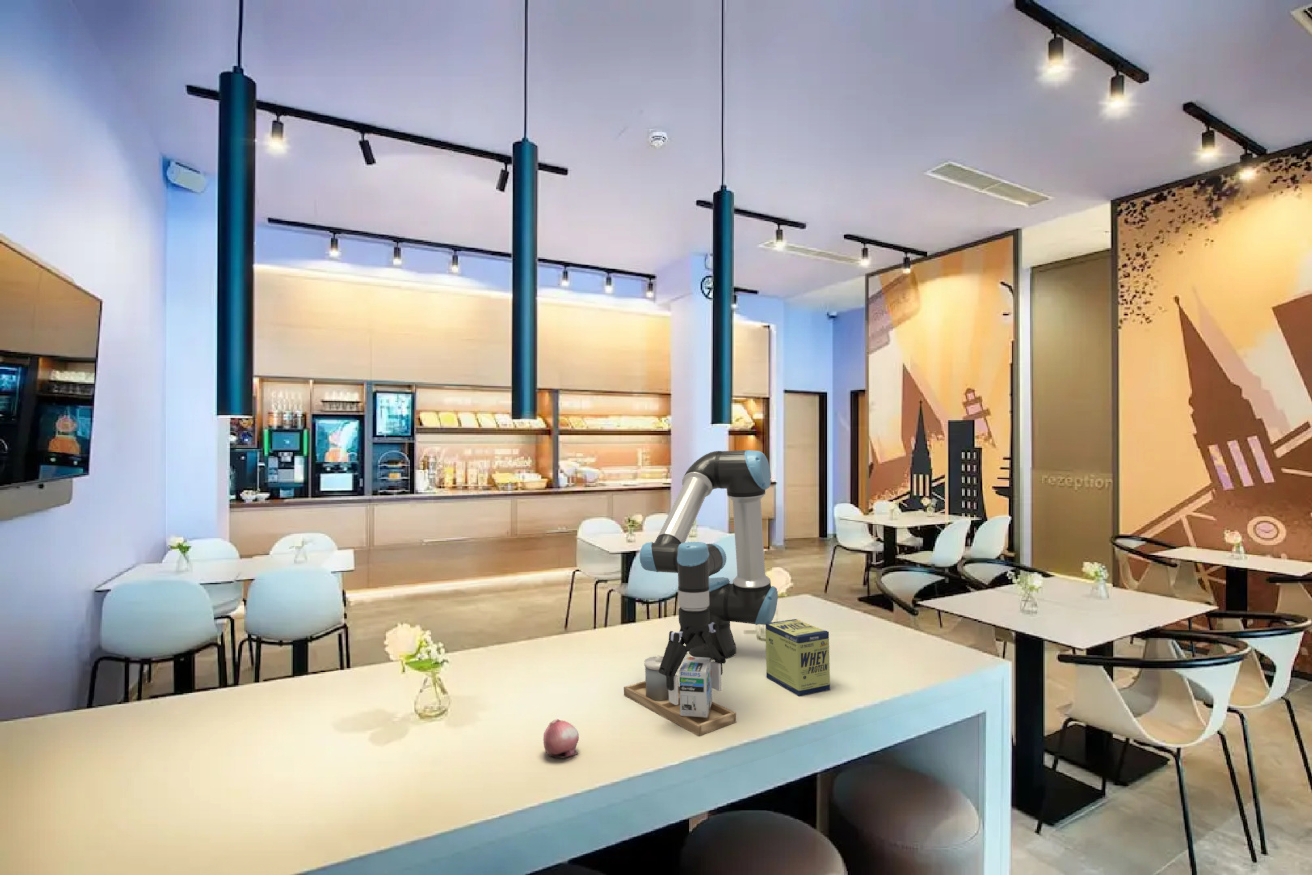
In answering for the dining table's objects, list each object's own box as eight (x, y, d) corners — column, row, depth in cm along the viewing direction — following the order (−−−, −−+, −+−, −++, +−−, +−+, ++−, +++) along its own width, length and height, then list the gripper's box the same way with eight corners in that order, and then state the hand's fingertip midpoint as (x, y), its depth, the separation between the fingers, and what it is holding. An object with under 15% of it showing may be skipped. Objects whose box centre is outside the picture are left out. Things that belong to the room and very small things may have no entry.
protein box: (799, 697, 161) (798, 636, 161) (765, 677, 175) (764, 622, 176) (831, 690, 165) (830, 631, 166) (795, 671, 179) (794, 617, 180)
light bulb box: (707, 718, 144) (707, 671, 144) (679, 716, 145) (678, 670, 145) (712, 700, 154) (712, 656, 154) (686, 698, 155) (685, 655, 156)
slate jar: (661, 688, 166) (661, 649, 167) (679, 696, 160) (678, 656, 161) (639, 695, 162) (638, 655, 162) (656, 703, 156) (655, 662, 156)
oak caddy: (659, 685, 171) (658, 676, 171) (736, 722, 146) (735, 712, 146) (623, 695, 164) (623, 686, 164) (698, 736, 140) (698, 726, 140)
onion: (544, 751, 135) (549, 716, 138) (579, 755, 135) (583, 719, 138) (537, 757, 128) (543, 719, 130) (575, 760, 128) (579, 722, 130)
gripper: (721, 596, 160) (723, 679, 160) (643, 612, 146) (644, 704, 145) (741, 602, 154) (743, 688, 154) (662, 619, 140) (664, 714, 139)
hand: (695, 696), depth 149 cm, fingers open, 13 cm apart
